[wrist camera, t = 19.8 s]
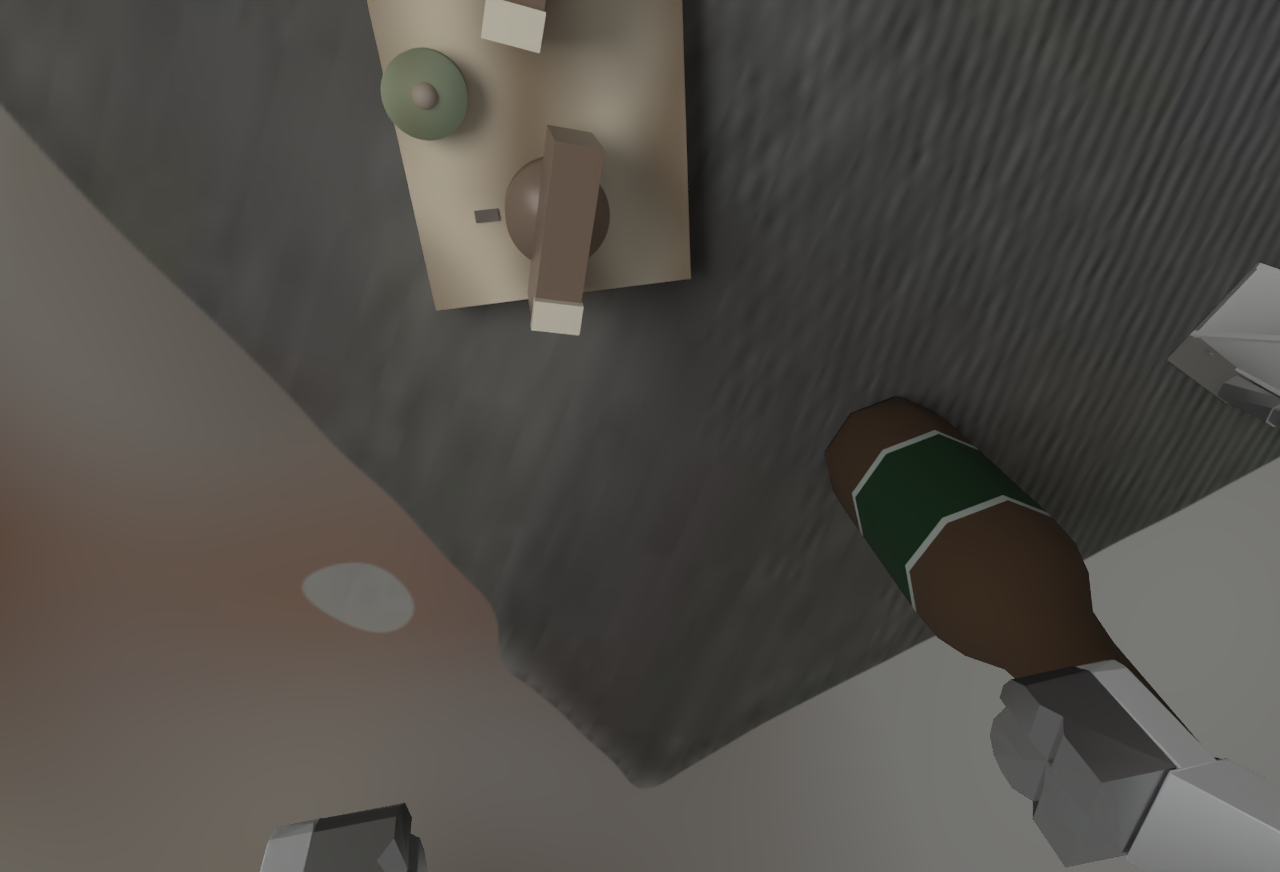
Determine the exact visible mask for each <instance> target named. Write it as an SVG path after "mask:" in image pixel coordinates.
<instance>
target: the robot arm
mask: <svg viewBox="0 0 1280 872" xmlns="http://www.w3.org/2000/svg"><path fill="white" fill-rule="evenodd" d="M1000 699H1001V700H1002V702H1003V703H1004V704H1005V706H1006V707H1005V708H1004V709H1003V710H1002V711H1001V712H1000V713H999V714H998V715H997V716H996V717H995V718H994V719H993V724H992V728H991V733H990V737H991V743H992V748H993V753H994V756H995V758H996V760H997V763H998V765H999V767H1000V770H1001V771H1002V773H1003V775H1004V776H1005V778H1006V779H1007V781H1008V782H1009V784H1010V785H1011V787H1012V788H1013V789H1015V790H1016V791H1018V792H1019V793H1021V794H1023V795H1024V796H1026V797H1028V798H1029V799H1031V800H1032V801H1033V820H1034V821H1035V823H1036V824H1037V826H1038V827H1039V829H1040V830H1041V832H1042V833H1043V834H1044V836H1045V838H1046V839H1047V841H1048V842H1049V844H1050V845H1051V847H1052V848H1053V849H1054V851H1055V852H1056V854H1057V855H1058V857H1059V858H1060V860H1061V861H1062V863H1063V864H1064V866H1065V867H1069V866H1074V865H1079V864H1084V863H1089V862H1094V861H1098V860H1104V859H1108V858H1113V857H1119V856H1123V855H1127V857H1126V860H1128V861H1129V862H1130V863H1132V864H1133V865H1135V866H1136V867H1137V868H1139V869H1140V870H1141V871H1143V872H1280V785H1279V784H1277V783H1275V782H1273V781H1271V780H1269V779H1267V778H1265V777H1263V776H1261V775H1259V774H1257V773H1255V772H1253V771H1251V770H1249V769H1247V768H1245V767H1243V766H1241V765H1239V764H1237V763H1235V762H1233V761H1231V760H1229V759H1227V758H1225V759H1219V760H1216V759H1215V758H1214V757H1213V756H1212V755H1211V754H1210V753H1209V752H1208V751H1207V750H1206V749H1205V748H1204V747H1203V746H1202V745H1201V744H1200V743H1199V742H1198V741H1197V740H1196V739H1195V738H1194V736H1193V735H1192V734H1191V733H1190V732H1189V731H1188V730H1187V729H1186V728H1185V727H1184V726H1183V725H1182V724H1181V723H1180V722H1179V721H1178V720H1177V719H1176V718H1175V717H1174V716H1173V715H1172V714H1171V713H1170V712H1169V711H1168V710H1167V709H1166V708H1165V707H1164V706H1163V705H1162V703H1161V702H1160V701H1159V700H1158V699H1157V698H1156V697H1155V696H1154V695H1153V694H1152V693H1151V692H1150V691H1149V690H1148V689H1147V688H1146V687H1145V686H1144V685H1143V684H1142V683H1141V682H1140V681H1139V680H1138V679H1137V678H1136V677H1135V676H1134V675H1133V674H1132V673H1131V672H1130V671H1129V669H1128V668H1126V667H1125V666H1124V665H1123V664H1121V663H1119V662H1117V661H1115V660H1102V661H1098V662H1093V663H1089V664H1084V665H1080V666H1070V667H1065V668H1061V669H1056V670H1052V671H1047V672H1043V673H1038V674H1034V675H1029V676H1025V677H1020V678H1015V679H1011V680H1010V681H1008V682H1007V683H1006V684H1005V685H1003V688H1002V692H1001V695H1000ZM411 822H412V817H411V815H410V813H409V810H408V808H407V806H406V804H405V803H400V804H396V805H390V806H385V807H380V808H374V809H370V810H364V811H359V812H354V813H348V814H343V815H338V816H332V817H328V818H319V819H314V820H309V821H305V822H300V823H294V824H290V825H285V826H280V827H277V828H276V830H275V831H274V833H273V835H272V837H271V838H270V840H269V842H268V844H267V847H266V851H265V855H264V859H263V863H262V867H261V870H260V872H427V862H426V857H425V852H424V848H423V846H422V843H421V840H420V838H419V837H416V836H414V835H412V834H411Z"/></svg>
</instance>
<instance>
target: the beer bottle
mask: <svg viewBox="0 0 1280 872" xmlns="http://www.w3.org/2000/svg"><path fill="white" fill-rule="evenodd" d="M825 457H826V461H827V466H828V470H829V474H830V478H831V483H832V487H833V491H834V493H835V494H836V496H837V498H838V500H839V501H840V503H841V505H842V506H843V508H844V510H845V511H846V512H847V514H848V515H849V517H850V518H851V520H852V521H853V522H854V524H855V525H856V527H857V528H858V530H859V531H860V532H861V534H862V535H863V537H864V538H865V540H866V541H867V542H868V544H869V545H870V547H871V548H872V550H873V551H874V552H875V554H876V555H877V557H878V558H879V560H880V561H881V562H882V564H883V565H884V567H885V568H886V570H887V571H888V572H889V574H890V575H891V577H892V578H893V580H894V581H895V582H896V584H897V585H898V587H899V588H900V590H901V591H902V592H903V594H904V595H905V597H906V598H907V600H908V601H909V602H910V604H911V605H912V607H913V608H914V610H915V611H916V612H917V614H918V615H919V616H920V617H921V618H922V620H923V621H924V622H925V623H926V624H927V626H928V627H929V628H930V629H931V630H932V631H933V633H934V634H935V635H936V636H937V637H938V638H939V639H941V640H942V641H944V642H945V643H947V644H948V645H950V646H951V647H953V648H954V649H956V650H957V651H959V652H961V653H962V654H964V655H965V656H968V657H971V658H974V659H976V660H979V661H982V662H985V663H988V664H991V665H994V666H997V667H1000V668H1002V669H1005V670H1006V671H1007V672H1008V673H1009V674H1011V675H1012V676H1013V677H1014V678H1020V677H1025V676H1029V675H1034V674H1038V673H1043V672H1047V671H1052V670H1056V669H1061V668H1065V667H1070V666H1080V665H1084V664H1089V663H1093V662H1098V661H1102V660H1115V661H1117V662H1119V663H1121V664H1123V665H1124V666H1125V667H1126V668H1128V669H1129V671H1130V672H1131V673H1132V674H1133V675H1134V676H1135V677H1136V678H1137V679H1138V680H1139V681H1140V682H1141V683H1142V684H1143V685H1144V686H1145V687H1146V688H1147V689H1148V690H1149V691H1150V692H1151V693H1152V694H1153V695H1154V696H1155V697H1156V698H1157V699H1158V700H1159V701H1160V702H1161V703H1162V705H1163V706H1164V707H1165V708H1166V709H1167V710H1168V711H1169V712H1170V713H1171V714H1172V715H1173V716H1174V717H1175V718H1176V719H1177V720H1178V721H1179V722H1180V723H1181V724H1182V725H1183V726H1184V727H1185V728H1186V729H1187V727H1186V726H1185V725H1184V724H1183V723H1182V722H1181V720H1180V719H1179V718H1178V717H1177V716H1176V715H1175V713H1174V712H1173V711H1172V710H1171V709H1170V708H1169V706H1168V705H1167V704H1166V703H1165V702H1164V701H1163V699H1162V698H1161V697H1160V696H1159V695H1158V694H1157V692H1156V691H1155V690H1154V689H1153V688H1152V687H1151V685H1150V684H1149V683H1148V682H1147V681H1146V680H1145V679H1144V677H1143V676H1142V675H1141V674H1140V673H1139V672H1138V670H1137V669H1136V668H1135V667H1134V666H1133V665H1132V663H1131V662H1130V661H1129V660H1128V659H1127V658H1126V657H1125V655H1124V654H1123V653H1122V652H1121V651H1120V649H1119V648H1118V647H1117V646H1116V645H1115V644H1114V642H1113V641H1112V639H1111V638H1110V636H1109V635H1108V633H1107V632H1106V630H1105V629H1104V628H1103V626H1102V625H1101V623H1100V622H1099V620H1098V619H1097V617H1096V616H1095V614H1094V613H1093V609H1092V600H1091V591H1090V582H1089V573H1088V570H1087V568H1086V566H1085V564H1084V561H1083V559H1082V557H1081V555H1080V552H1079V550H1078V548H1077V545H1076V543H1075V542H1074V541H1073V540H1072V539H1071V538H1070V536H1069V535H1068V534H1067V533H1066V532H1065V531H1064V530H1063V529H1062V528H1061V527H1060V525H1059V524H1058V523H1057V522H1056V521H1055V520H1054V519H1053V518H1052V517H1051V516H1050V515H1049V514H1048V513H1047V512H1046V511H1045V510H1044V509H1043V508H1041V507H1040V506H1039V505H1038V504H1037V503H1036V502H1035V501H1034V500H1033V499H1032V498H1031V497H1029V496H1028V495H1027V494H1026V493H1025V492H1024V491H1023V490H1022V489H1021V488H1020V487H1018V486H1017V485H1016V484H1015V483H1014V482H1013V481H1012V480H1011V479H1010V478H1009V477H1008V476H1006V475H1005V474H1004V473H1003V472H1002V471H1001V470H1000V469H999V468H998V467H997V466H996V465H994V464H993V463H992V462H991V461H990V460H989V459H988V458H987V457H986V456H985V455H984V454H982V453H981V452H980V451H979V450H978V449H977V448H976V447H975V446H974V445H973V444H972V443H970V442H969V441H968V440H967V439H966V438H965V437H964V436H963V435H962V434H961V433H960V432H958V431H957V430H956V429H955V428H954V427H953V426H952V425H950V424H949V423H948V422H947V421H945V420H944V419H943V418H941V417H940V416H939V415H938V414H936V413H935V412H933V411H930V410H928V409H926V408H923V407H921V406H919V405H916V404H914V403H912V402H909V401H907V400H905V399H902V398H900V397H892V398H890V399H887V400H884V401H882V402H879V403H876V404H874V405H871V406H869V407H866V408H863V409H861V410H858V411H856V412H853V413H850V415H849V416H848V418H847V419H846V421H845V422H844V424H843V425H842V427H841V428H840V430H839V431H838V433H837V434H836V436H835V437H834V439H833V440H832V442H831V443H830V445H829V446H828V448H827V449H826V451H825ZM1187 730H1188V729H1187ZM1188 731H1189V730H1188ZM1189 732H1190V731H1189ZM1190 733H1191V732H1190ZM1191 734H1192V733H1191ZM1192 735H1193V734H1192ZM1194 738H1195V737H1194ZM1195 739H1196V738H1195ZM1196 740H1197V739H1196ZM1197 741H1198V740H1197ZM1198 742H1199V741H1198ZM1214 758H1215V757H1214ZM1215 759H1216V760H1219V758H1215Z"/></svg>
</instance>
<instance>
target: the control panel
mask: <svg viewBox="0 0 1280 872" xmlns="http://www.w3.org/2000/svg"><path fill="white" fill-rule="evenodd" d="M367 3H368V7H369V12H370V16H371V21H372V25H373V30H374V34H375V39H376V43H377V48H378V52H379V57H380V61H381V66H382V70H383V77H382V81H381V97H382V102H383V105H384V108H385V110H386V112H387V114H388V116H389V117H390V119H391V120H392V122H393V123H394V124H395V128H396V133H397V137H398V142H399V146H400V151H401V155H402V160H403V164H404V169H405V173H406V178H407V182H408V187H409V191H410V196H411V200H412V205H413V209H414V213H415V218H416V222H417V227H418V231H419V236H420V240H421V245H422V249H423V254H424V258H425V263H426V267H427V272H428V276H429V281H430V285H431V290H432V294H433V299H434V303H435V308H436V311H437V310H445V309H453V308H461V307H469V306H477V305H485V304H493V303H501V302H509V301H517V300H525V299H528V293H527V292H528V284H529V275H530V267H531V260H530V259H529V258H527V257H526V256H525V255H523V254H522V253H521V252H520V251H519V249H518V248H517V247H516V246H515V244H514V243H513V241H512V239H511V237H510V235H509V232H508V229H507V225H506V218H505V197H506V192H507V189H508V186H509V184H510V182H511V180H512V179H513V177H514V175H515V174H516V173H517V172H518V171H519V170H520V169H521V168H522V167H523V166H524V165H526V164H527V163H529V162H531V161H533V160H535V159H537V158H540V157H543V156H544V147H545V139H546V130H547V125H552V126H558V127H564V128H569V129H575V130H580V131H586V132H592V134H593V135H594V136H595V137H596V139H597V140H598V141H599V142H600V144H601V145H602V146H603V147H604V149H605V153H604V160H603V166H602V173H601V179H600V185H601V187H602V189H603V190H604V192H605V195H606V197H607V200H608V203H609V209H610V222H609V228H608V232H607V234H606V237H605V239H604V241H603V243H602V244H601V246H600V247H599V249H598V250H597V251H596V252H595V253H594V254H593V255H592V256H590V257H589V258H588V263H587V270H586V276H585V282H584V289H583V292H589V291H597V290H605V289H613V288H621V287H629V286H637V285H645V284H653V283H661V282H669V281H677V280H685V279H691V269H690V237H689V205H688V172H687V140H686V108H685V75H684V43H683V11H682V0H546V2H545V9H544V12H546V18H545V24H544V30H543V36H542V43H541V49H540V53H536V52H532V51H529V50H525V49H521V48H517V47H513V46H510V45H506V44H502V43H498V42H494V41H491V40H487V39H483V38H481V32H482V24H483V16H484V8H485V0H367Z"/></svg>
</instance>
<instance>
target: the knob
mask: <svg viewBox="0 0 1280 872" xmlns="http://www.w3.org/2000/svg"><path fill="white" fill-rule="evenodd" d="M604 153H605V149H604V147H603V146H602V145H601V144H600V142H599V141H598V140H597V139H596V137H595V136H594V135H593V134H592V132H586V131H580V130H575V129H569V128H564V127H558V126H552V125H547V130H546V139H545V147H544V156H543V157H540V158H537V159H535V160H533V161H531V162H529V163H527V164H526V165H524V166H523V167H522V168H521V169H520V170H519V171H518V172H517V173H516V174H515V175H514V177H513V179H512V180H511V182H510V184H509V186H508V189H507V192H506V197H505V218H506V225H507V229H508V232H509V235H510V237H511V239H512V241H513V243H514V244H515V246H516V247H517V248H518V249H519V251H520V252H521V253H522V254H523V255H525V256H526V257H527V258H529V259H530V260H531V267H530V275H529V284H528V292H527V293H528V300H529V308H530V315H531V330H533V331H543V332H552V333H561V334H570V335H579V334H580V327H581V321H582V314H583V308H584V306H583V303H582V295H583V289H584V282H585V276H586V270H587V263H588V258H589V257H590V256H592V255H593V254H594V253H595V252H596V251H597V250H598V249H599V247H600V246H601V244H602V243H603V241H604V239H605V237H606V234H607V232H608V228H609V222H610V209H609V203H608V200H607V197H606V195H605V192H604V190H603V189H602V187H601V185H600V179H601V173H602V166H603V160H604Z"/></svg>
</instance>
